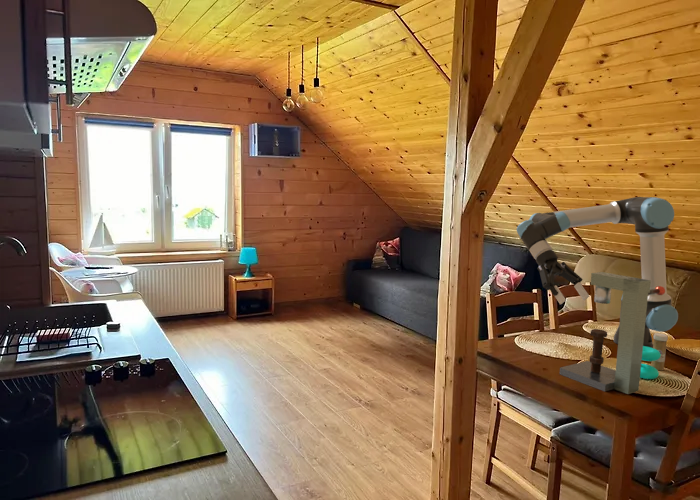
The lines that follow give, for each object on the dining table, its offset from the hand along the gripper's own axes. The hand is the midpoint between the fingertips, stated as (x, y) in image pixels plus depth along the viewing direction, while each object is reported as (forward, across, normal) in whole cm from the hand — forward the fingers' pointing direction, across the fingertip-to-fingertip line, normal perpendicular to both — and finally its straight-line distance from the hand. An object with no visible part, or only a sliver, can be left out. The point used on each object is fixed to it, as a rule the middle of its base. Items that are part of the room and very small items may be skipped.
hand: (575, 300), depth 194 cm
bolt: (+24, 0, -10) cm, 26 cm away
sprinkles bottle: (+30, -30, -8) cm, 43 cm away
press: (+28, -4, -9) cm, 30 cm away
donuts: (+31, -18, -7) cm, 37 cm away
